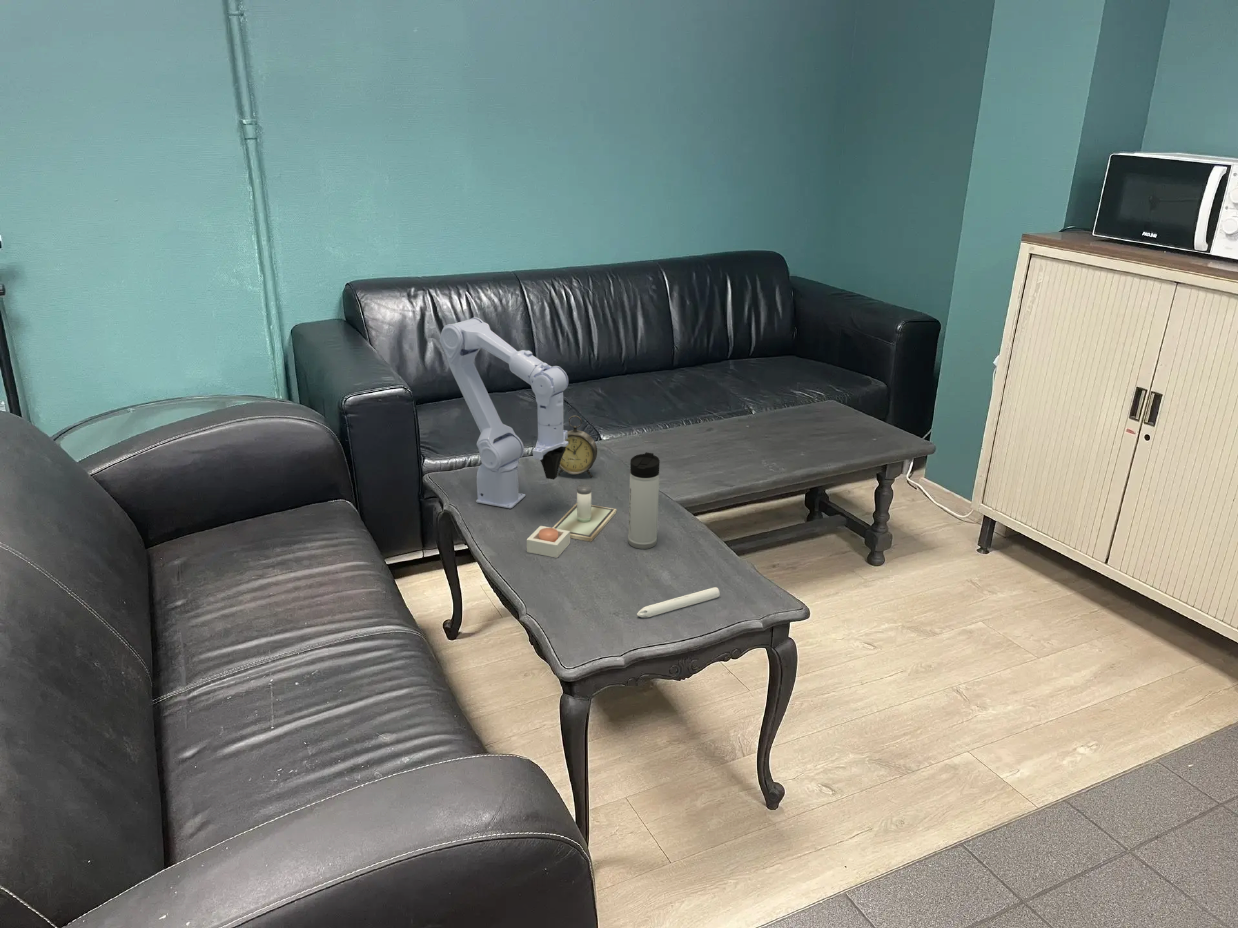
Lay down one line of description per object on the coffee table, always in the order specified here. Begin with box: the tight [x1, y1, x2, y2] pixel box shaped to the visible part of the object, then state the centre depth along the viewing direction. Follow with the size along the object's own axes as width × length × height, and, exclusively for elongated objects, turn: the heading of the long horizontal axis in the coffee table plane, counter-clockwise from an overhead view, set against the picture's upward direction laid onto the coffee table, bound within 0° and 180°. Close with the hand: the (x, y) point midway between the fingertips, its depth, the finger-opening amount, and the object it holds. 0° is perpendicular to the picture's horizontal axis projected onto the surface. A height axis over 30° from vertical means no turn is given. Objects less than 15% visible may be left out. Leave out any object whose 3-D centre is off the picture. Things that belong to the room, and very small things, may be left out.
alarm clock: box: [557, 415, 598, 478], centre depth 218 cm, size 11×5×16 cm, turn 80°
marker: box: [636, 586, 721, 619], centre depth 163 cm, size 18×2×2 cm, turn 118°
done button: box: [539, 527, 558, 542], centre depth 183 cm, size 4×4×3 cm
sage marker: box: [576, 484, 592, 523], centre depth 194 cm, size 3×3×8 cm
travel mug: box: [627, 452, 661, 550], centre depth 184 cm, size 6×7×20 cm
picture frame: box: [552, 502, 618, 542], centre depth 195 cm, size 10×16×1 cm, turn 160°
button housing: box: [526, 525, 571, 559], centre depth 184 cm, size 7×7×3 cm
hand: (551, 477), depth 196 cm, fingers closed
